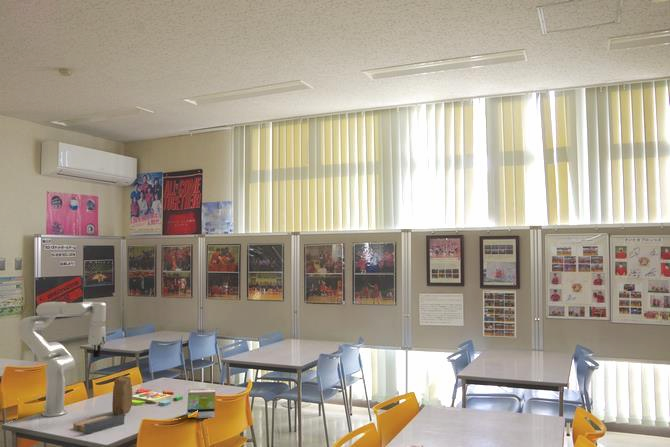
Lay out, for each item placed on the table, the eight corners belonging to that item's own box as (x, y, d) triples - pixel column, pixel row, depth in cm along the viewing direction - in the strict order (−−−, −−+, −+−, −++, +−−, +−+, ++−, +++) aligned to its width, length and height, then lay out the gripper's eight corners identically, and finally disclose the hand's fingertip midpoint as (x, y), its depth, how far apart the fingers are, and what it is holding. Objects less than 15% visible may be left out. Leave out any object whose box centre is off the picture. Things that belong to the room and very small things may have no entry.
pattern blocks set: (192, 395, 356) (192, 390, 356) (163, 408, 324) (163, 403, 324) (141, 390, 366) (141, 386, 366) (108, 403, 333) (109, 398, 334)
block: (121, 415, 307) (123, 379, 309) (110, 414, 309) (111, 378, 311) (133, 410, 318) (135, 375, 319) (122, 409, 320) (124, 375, 321)
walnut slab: (73, 429, 283) (73, 423, 283) (103, 421, 298) (103, 415, 299) (87, 433, 277) (87, 427, 277) (117, 424, 292) (117, 419, 292)
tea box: (187, 419, 302) (188, 392, 303) (187, 414, 312) (188, 388, 313) (214, 417, 306) (215, 391, 307) (213, 412, 316) (214, 387, 317)
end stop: (83, 433, 275) (84, 423, 276) (121, 422, 294) (121, 413, 294) (86, 434, 274) (87, 424, 274) (124, 423, 292) (124, 414, 293)
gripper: (84, 323, 309) (82, 356, 308) (100, 325, 301) (98, 359, 300) (96, 322, 315) (94, 354, 314) (112, 324, 308) (110, 357, 306)
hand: (96, 356), depth 307 cm, fingers closed
